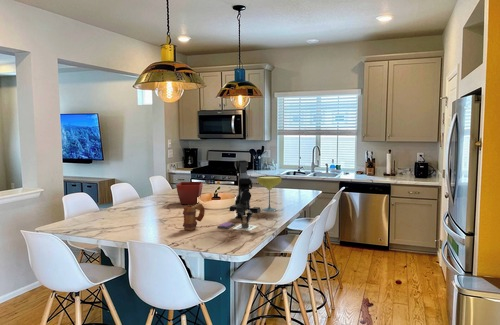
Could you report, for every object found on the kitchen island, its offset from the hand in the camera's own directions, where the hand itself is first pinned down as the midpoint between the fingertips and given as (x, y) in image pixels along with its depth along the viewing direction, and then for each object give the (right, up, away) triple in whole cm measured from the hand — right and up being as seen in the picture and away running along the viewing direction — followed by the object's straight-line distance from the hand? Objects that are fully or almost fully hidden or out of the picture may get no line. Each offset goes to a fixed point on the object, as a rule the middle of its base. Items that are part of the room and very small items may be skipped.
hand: (245, 223), depth 225 cm
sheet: (0, -3, 0) cm, 3 cm away
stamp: (0, -3, 0) cm, 3 cm away
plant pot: (-47, +3, +81) cm, 94 cm away
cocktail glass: (+18, +1, +51) cm, 54 cm away
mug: (-31, -4, -1) cm, 31 cm away
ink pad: (-12, -3, +3) cm, 12 cm away
